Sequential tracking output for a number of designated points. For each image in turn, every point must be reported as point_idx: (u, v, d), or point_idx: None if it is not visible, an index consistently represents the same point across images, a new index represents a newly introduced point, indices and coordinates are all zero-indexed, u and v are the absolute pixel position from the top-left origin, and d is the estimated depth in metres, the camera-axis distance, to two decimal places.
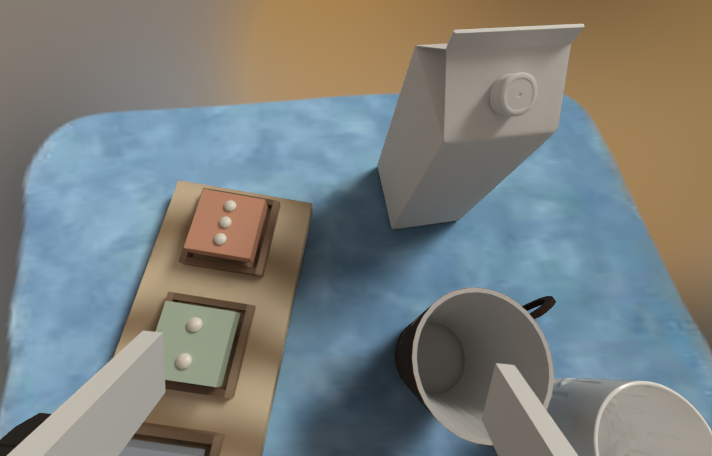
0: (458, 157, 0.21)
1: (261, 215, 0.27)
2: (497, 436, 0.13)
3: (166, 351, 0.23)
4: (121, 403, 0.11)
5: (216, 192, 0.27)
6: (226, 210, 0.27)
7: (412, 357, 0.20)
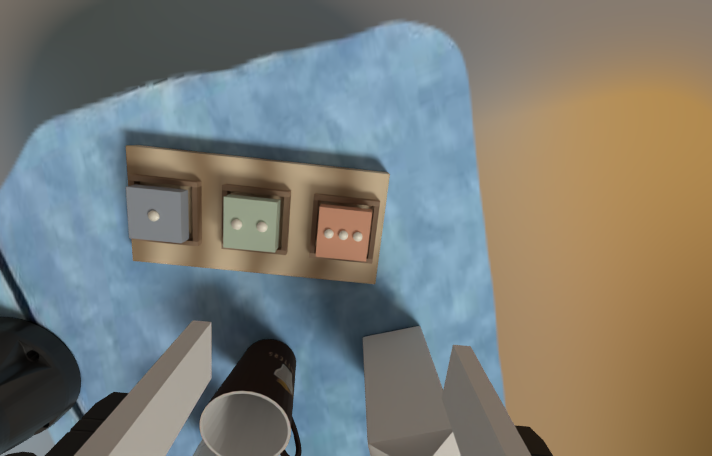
0: None
1: None
2: (452, 411, 0.14)
3: (241, 210, 0.32)
4: (182, 385, 0.12)
5: (369, 223, 0.33)
6: (353, 234, 0.33)
7: (242, 390, 0.31)
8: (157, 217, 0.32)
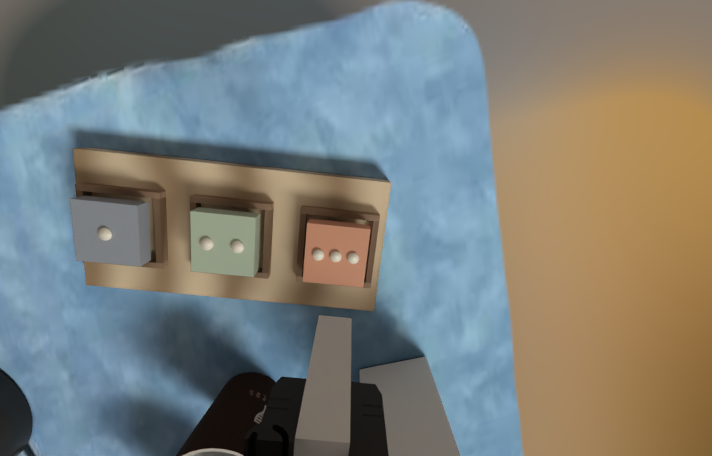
0: None
1: None
2: None
3: (212, 227, 0.27)
4: None
5: (367, 242, 0.27)
6: (348, 255, 0.27)
7: (212, 448, 0.26)
8: (109, 235, 0.26)
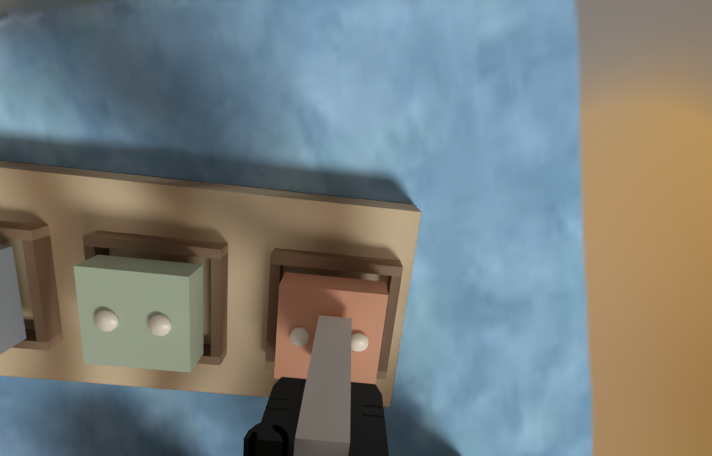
0: None
1: None
2: None
3: (115, 293, 0.15)
4: None
5: (382, 316, 0.16)
6: None
7: None
8: None
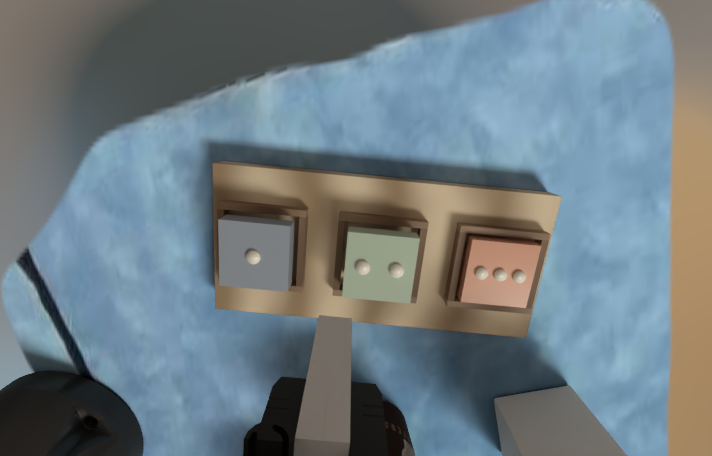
0: None
1: None
2: None
3: (370, 249, 0.24)
4: None
5: (536, 260, 0.25)
6: (514, 273, 0.25)
7: None
8: (258, 259, 0.24)
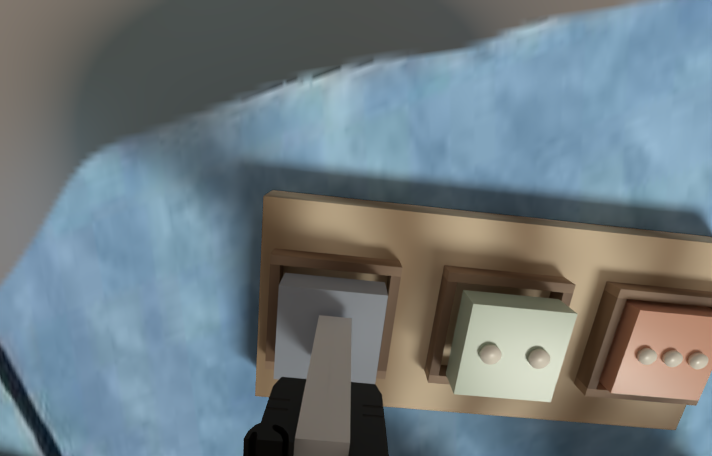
0: None
1: None
2: None
3: (504, 329, 0.16)
4: None
5: None
6: (691, 356, 0.18)
7: None
8: None
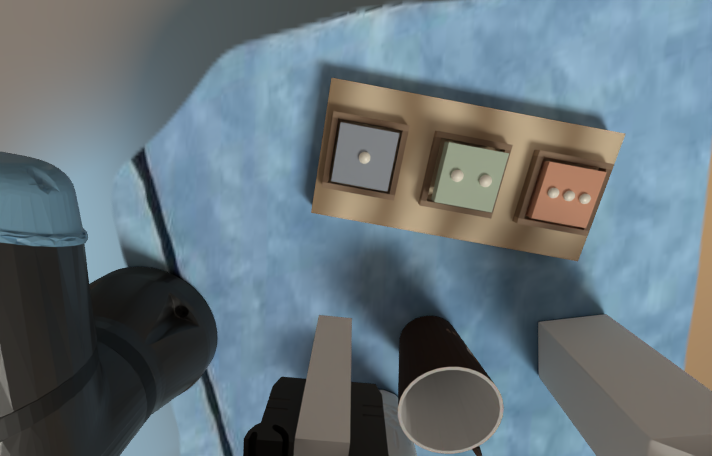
0: (627, 435, 0.24)
1: (570, 224, 0.30)
2: None
3: (466, 160, 0.28)
4: None
5: (600, 184, 0.29)
6: (580, 195, 0.29)
7: (458, 366, 0.27)
8: (368, 159, 0.29)
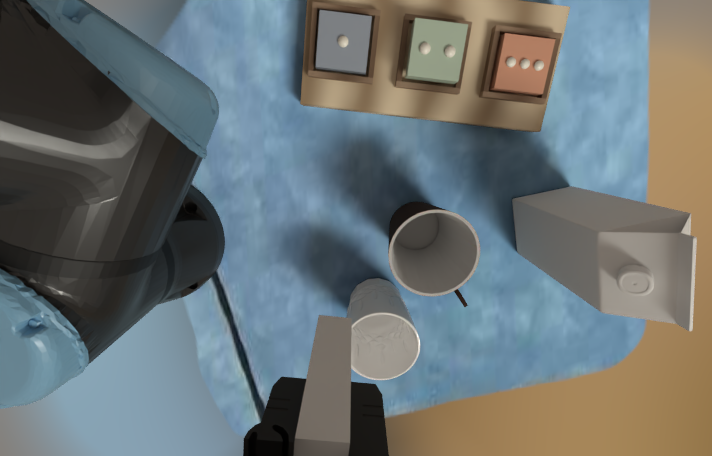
0: (582, 244, 0.29)
1: (528, 92, 0.35)
2: None
3: (431, 33, 0.32)
4: None
5: (551, 51, 0.33)
6: (534, 63, 0.34)
7: (437, 209, 0.31)
8: (347, 42, 0.33)
